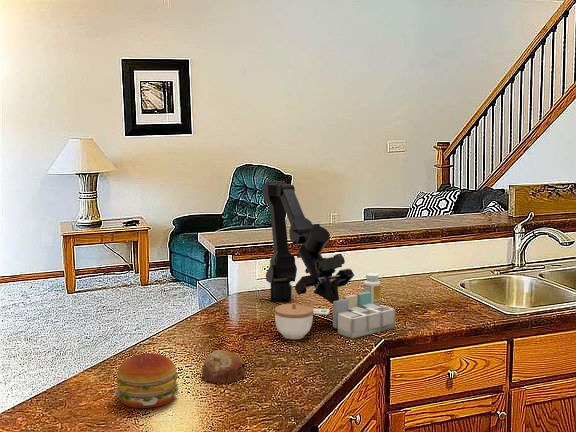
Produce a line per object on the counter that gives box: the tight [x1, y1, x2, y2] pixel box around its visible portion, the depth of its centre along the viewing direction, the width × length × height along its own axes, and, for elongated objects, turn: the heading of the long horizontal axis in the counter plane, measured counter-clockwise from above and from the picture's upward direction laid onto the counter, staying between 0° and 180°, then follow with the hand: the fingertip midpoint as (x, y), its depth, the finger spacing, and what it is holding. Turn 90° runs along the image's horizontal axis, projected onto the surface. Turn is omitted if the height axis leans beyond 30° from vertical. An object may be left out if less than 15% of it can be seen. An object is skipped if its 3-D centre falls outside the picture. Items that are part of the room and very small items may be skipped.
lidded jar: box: [274, 302, 314, 340], centre depth 196 cm, size 11×11×9 cm
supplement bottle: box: [363, 272, 381, 306], centre depth 230 cm, size 5×5×10 cm
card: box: [313, 308, 330, 316], centre depth 220 cm, size 8×5×1 cm, turn 83°
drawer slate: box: [332, 298, 360, 329], centre depth 200 cm, size 7×4×8 cm, turn 38°
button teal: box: [356, 291, 383, 311], centre depth 208 cm, size 7×4×8 cm, turn 38°
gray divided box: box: [337, 304, 397, 339], centre depth 202 cm, size 6×17×6 cm, turn 127°
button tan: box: [342, 294, 369, 315], centre depth 205 cm, size 7×4×8 cm, turn 38°
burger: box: [114, 352, 179, 409], centre depth 152 cm, size 14×14×10 cm
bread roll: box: [201, 349, 246, 384], centre depth 167 cm, size 10×10×8 cm
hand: (338, 305), depth 203 cm, fingers closed, pressing on drawer slate
